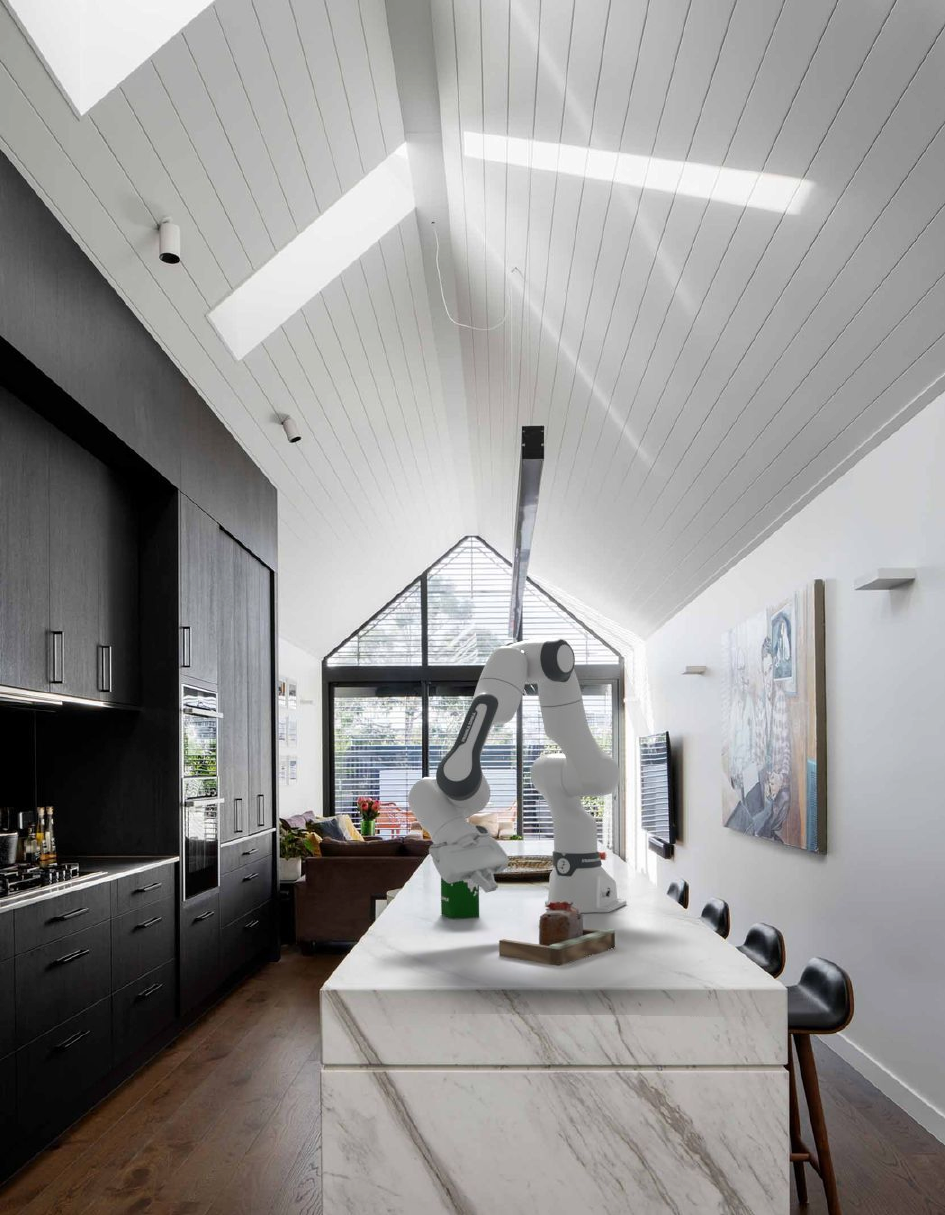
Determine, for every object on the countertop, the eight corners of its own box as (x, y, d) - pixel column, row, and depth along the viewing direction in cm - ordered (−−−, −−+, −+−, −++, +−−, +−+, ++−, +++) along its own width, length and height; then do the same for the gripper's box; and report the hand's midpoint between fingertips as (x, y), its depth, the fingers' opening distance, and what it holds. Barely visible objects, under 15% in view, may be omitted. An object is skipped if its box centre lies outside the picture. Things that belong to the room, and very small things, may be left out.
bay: (558, 939, 211) (558, 922, 212) (615, 947, 202) (614, 930, 203) (499, 956, 195) (499, 937, 195) (558, 965, 186) (558, 946, 187)
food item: (547, 943, 207) (546, 895, 209) (585, 945, 206) (584, 896, 207) (536, 957, 194) (536, 905, 196) (577, 959, 192) (576, 907, 194)
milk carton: (484, 917, 238) (484, 832, 241) (450, 920, 234) (450, 834, 237) (469, 911, 246) (469, 830, 249) (435, 914, 242) (435, 831, 245)
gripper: (433, 835, 209) (470, 887, 202) (491, 826, 225) (528, 873, 218) (417, 856, 211) (453, 907, 204) (477, 845, 227) (512, 892, 220)
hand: (492, 889), depth 211 cm, fingers closed
